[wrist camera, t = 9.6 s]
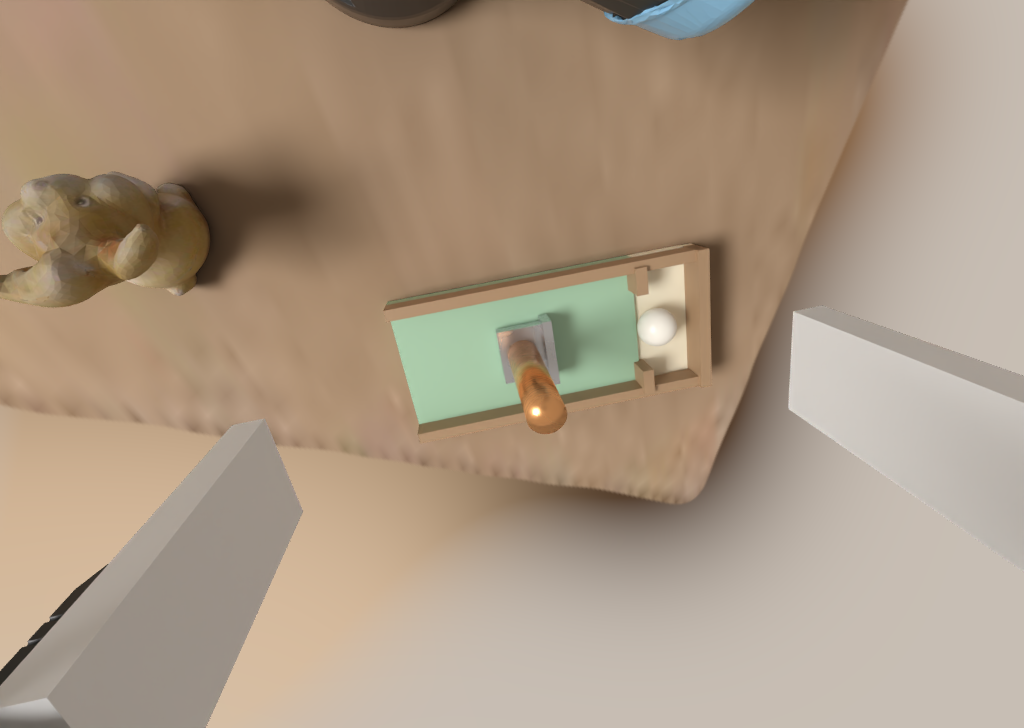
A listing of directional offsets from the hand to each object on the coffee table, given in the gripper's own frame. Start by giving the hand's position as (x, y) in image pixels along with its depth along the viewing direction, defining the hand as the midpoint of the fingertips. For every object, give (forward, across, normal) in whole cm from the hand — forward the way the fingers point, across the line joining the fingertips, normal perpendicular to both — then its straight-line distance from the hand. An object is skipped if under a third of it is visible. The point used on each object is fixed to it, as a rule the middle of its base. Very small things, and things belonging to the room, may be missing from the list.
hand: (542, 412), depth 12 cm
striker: (+31, +2, -10) cm, 33 cm away
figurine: (+33, -24, +6) cm, 41 cm away
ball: (+30, +14, -10) cm, 35 cm away
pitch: (+33, +5, -10) cm, 35 cm away
